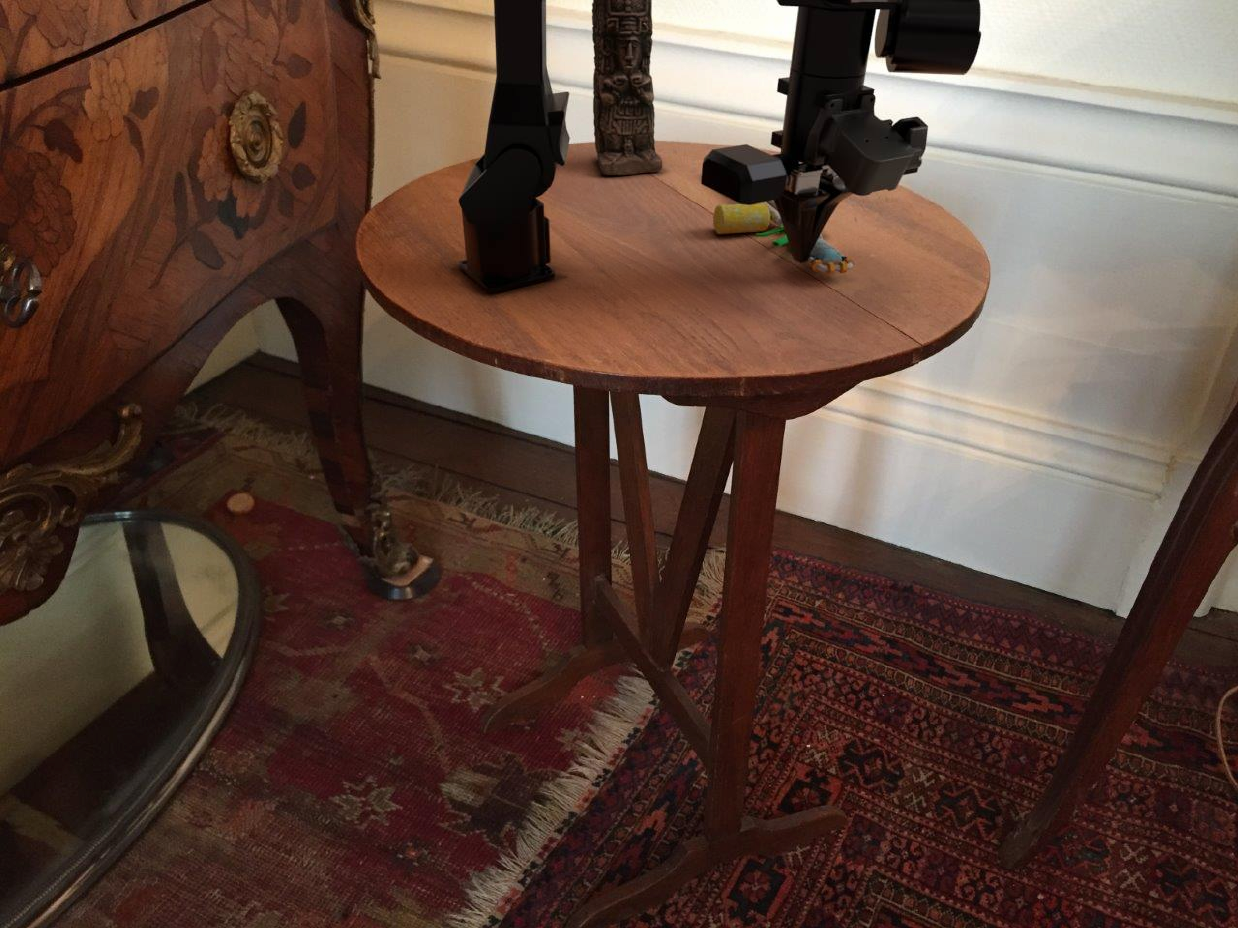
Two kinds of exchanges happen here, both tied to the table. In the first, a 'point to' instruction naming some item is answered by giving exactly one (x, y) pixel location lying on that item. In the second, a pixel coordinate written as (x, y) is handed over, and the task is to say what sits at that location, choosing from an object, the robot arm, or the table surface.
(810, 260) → the flamethrower
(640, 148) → the statue
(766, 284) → the table surface
